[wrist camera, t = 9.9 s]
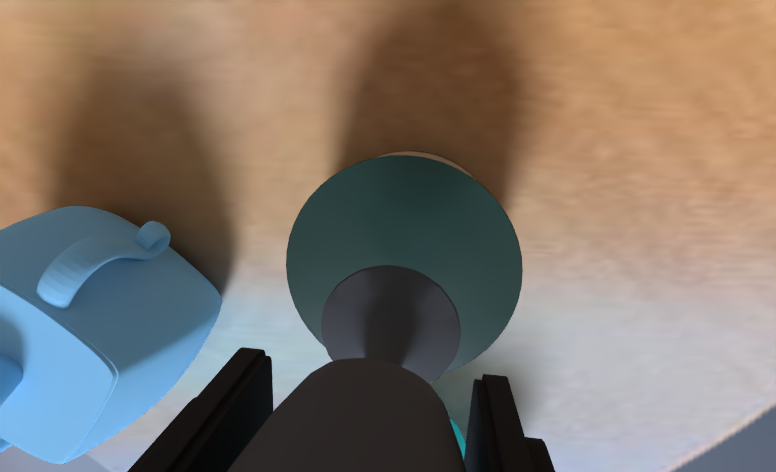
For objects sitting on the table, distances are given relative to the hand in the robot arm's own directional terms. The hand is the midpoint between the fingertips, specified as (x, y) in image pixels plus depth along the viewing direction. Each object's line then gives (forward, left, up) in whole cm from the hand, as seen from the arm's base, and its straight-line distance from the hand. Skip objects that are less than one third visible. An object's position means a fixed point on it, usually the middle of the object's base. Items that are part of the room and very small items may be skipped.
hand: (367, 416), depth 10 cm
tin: (0, 0, -17) cm, 17 cm away
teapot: (+7, -20, -17) cm, 27 cm away
